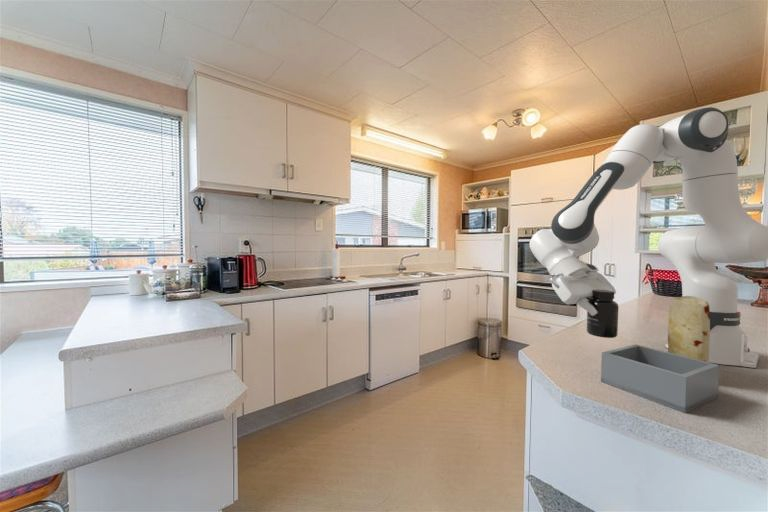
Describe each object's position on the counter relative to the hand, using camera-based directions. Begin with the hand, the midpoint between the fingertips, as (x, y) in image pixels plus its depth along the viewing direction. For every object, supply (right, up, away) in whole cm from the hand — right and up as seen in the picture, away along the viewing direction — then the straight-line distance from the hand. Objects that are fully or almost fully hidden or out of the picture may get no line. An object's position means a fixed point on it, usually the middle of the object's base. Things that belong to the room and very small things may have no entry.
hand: (605, 312), depth 80 cm
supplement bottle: (0, -6, +1) cm, 6 cm away
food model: (+17, -15, -5) cm, 23 cm away
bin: (+2, -15, -12) cm, 20 cm away
